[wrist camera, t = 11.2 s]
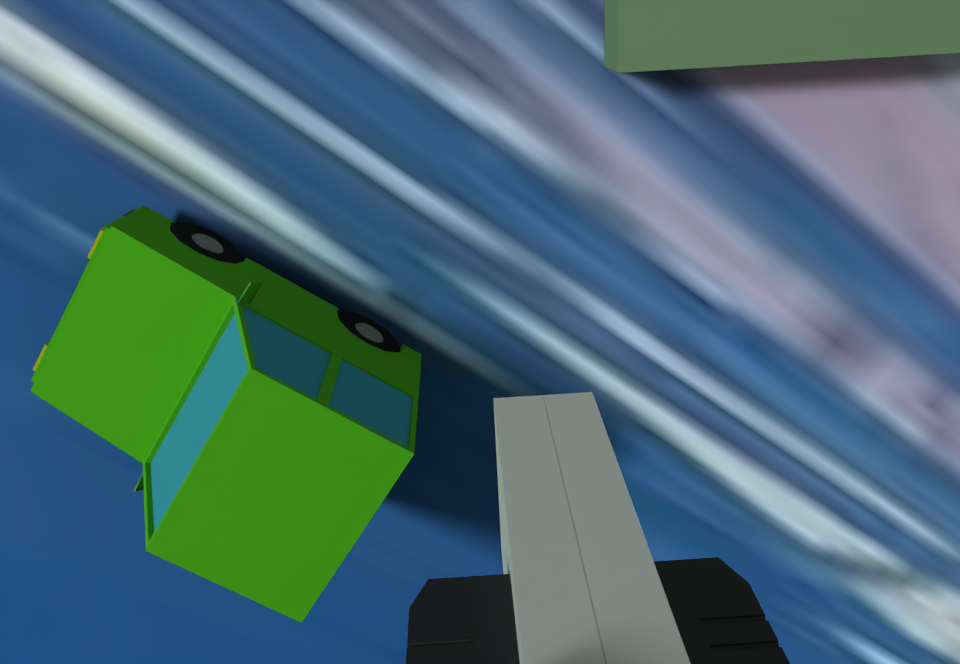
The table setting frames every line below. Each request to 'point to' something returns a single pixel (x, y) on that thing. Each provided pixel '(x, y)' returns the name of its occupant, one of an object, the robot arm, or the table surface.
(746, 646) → the robot arm
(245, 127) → the table surface
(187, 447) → the green toy van
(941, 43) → the putting mat
